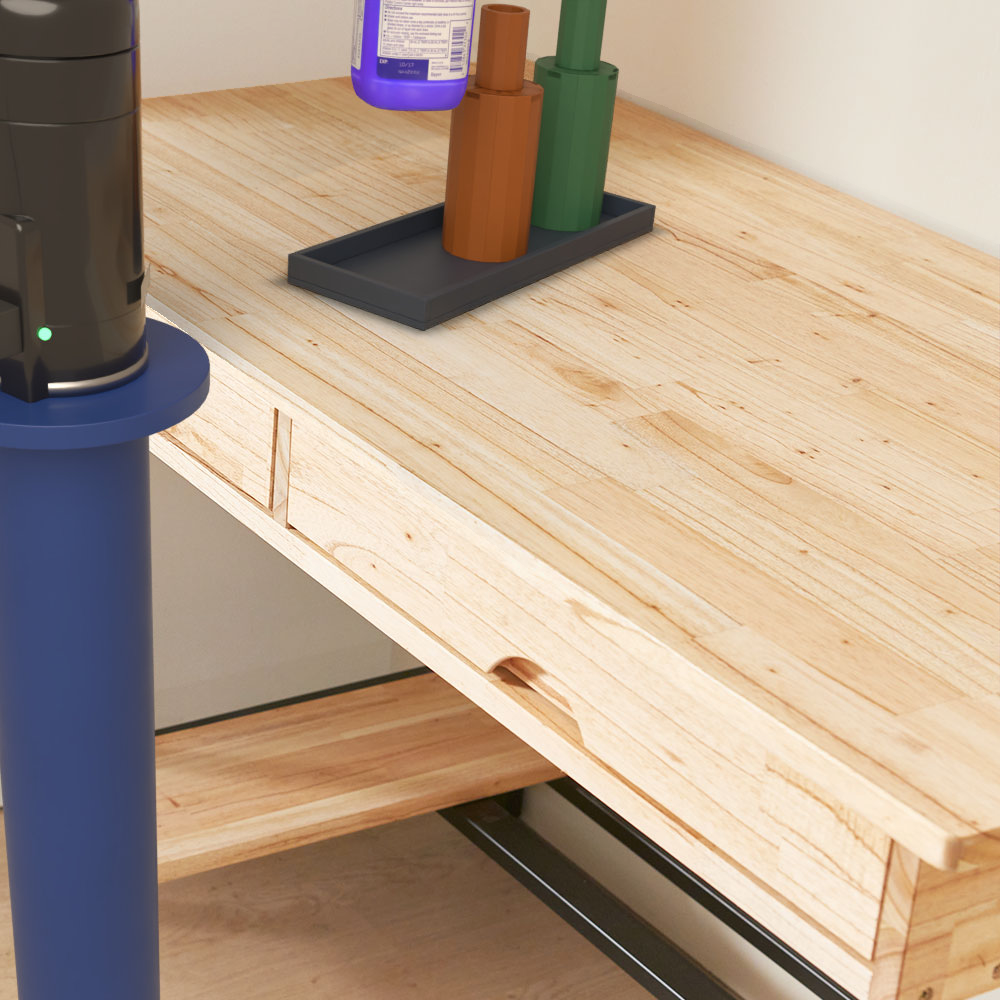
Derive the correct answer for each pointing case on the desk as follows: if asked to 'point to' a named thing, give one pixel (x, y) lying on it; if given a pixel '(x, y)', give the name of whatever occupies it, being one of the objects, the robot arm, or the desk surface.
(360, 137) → the desk surface
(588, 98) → the green bottle
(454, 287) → the tray
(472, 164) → the amber bottle
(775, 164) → the desk surface
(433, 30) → the bottle
